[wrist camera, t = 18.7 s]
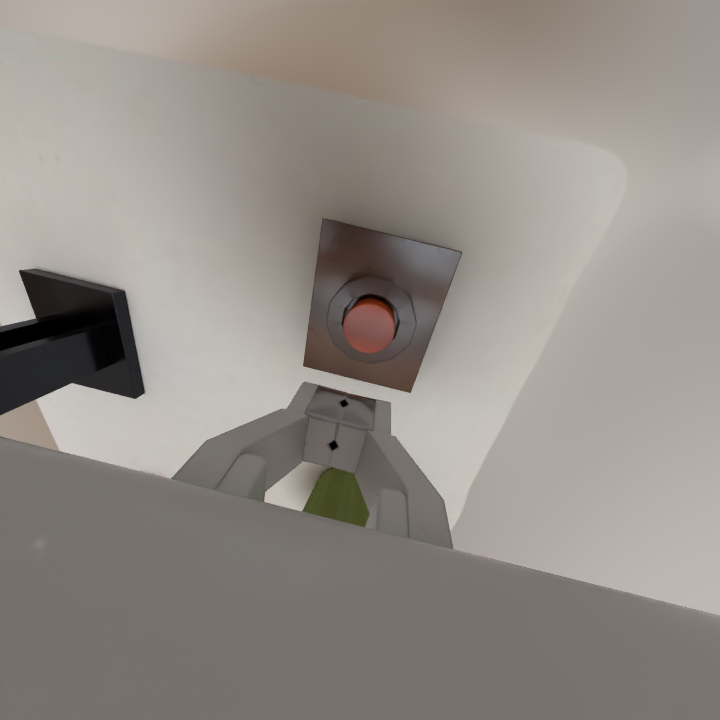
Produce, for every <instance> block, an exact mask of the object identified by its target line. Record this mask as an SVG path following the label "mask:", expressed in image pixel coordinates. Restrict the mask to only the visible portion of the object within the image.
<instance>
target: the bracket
mask: <svg viewBox="0 0 720 720" xmlns="http://www.w3.org/2000/svg"><path fill="white" fill-rule="evenodd" d="M19 272H20V275H21V278H22V281H23V283H24V286H25V289H26V292H27V294H28V297H29V300H30V302H31V305H32V308H33V311H34V313H35V316H36V319H32V320H28V321H23V322H19V323H14V324H10V325H5V326H1V327H0V415H2V414H4V413H6V412H9V411H11V410H13V409H15V408H18V407H20V406H22V405H24V404H26V403H29V402H31V401H33V400H35V399H37V398H40V397H42V396H44V395H46V394H49V393H51V392H53V391H55V390H57V389H60V388H62V387H64V386H66V385H68V384H71V383H74V384H78V385H82V386H86V387H90V388H94V389H98V390H102V391H106V392H110V393H114V394H118V395H122V396H126V397H130V398H134V399H136V398H138V397H139V396H141V395H142V394H144V389H143V384H142V379H141V374H140V369H139V364H138V359H137V353H136V348H135V343H134V338H133V333H132V328H131V323H130V318H129V313H128V308H127V303H126V298H125V293H124V291H121V290H117V289H113V288H109V287H105V286H101V285H97V284H93V283H89V282H85V281H81V280H77V279H73V278H69V277H65V276H61V275H57V274H52V273H48V272H44V271H40V270H36V269H28V270H19Z"/></svg>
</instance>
